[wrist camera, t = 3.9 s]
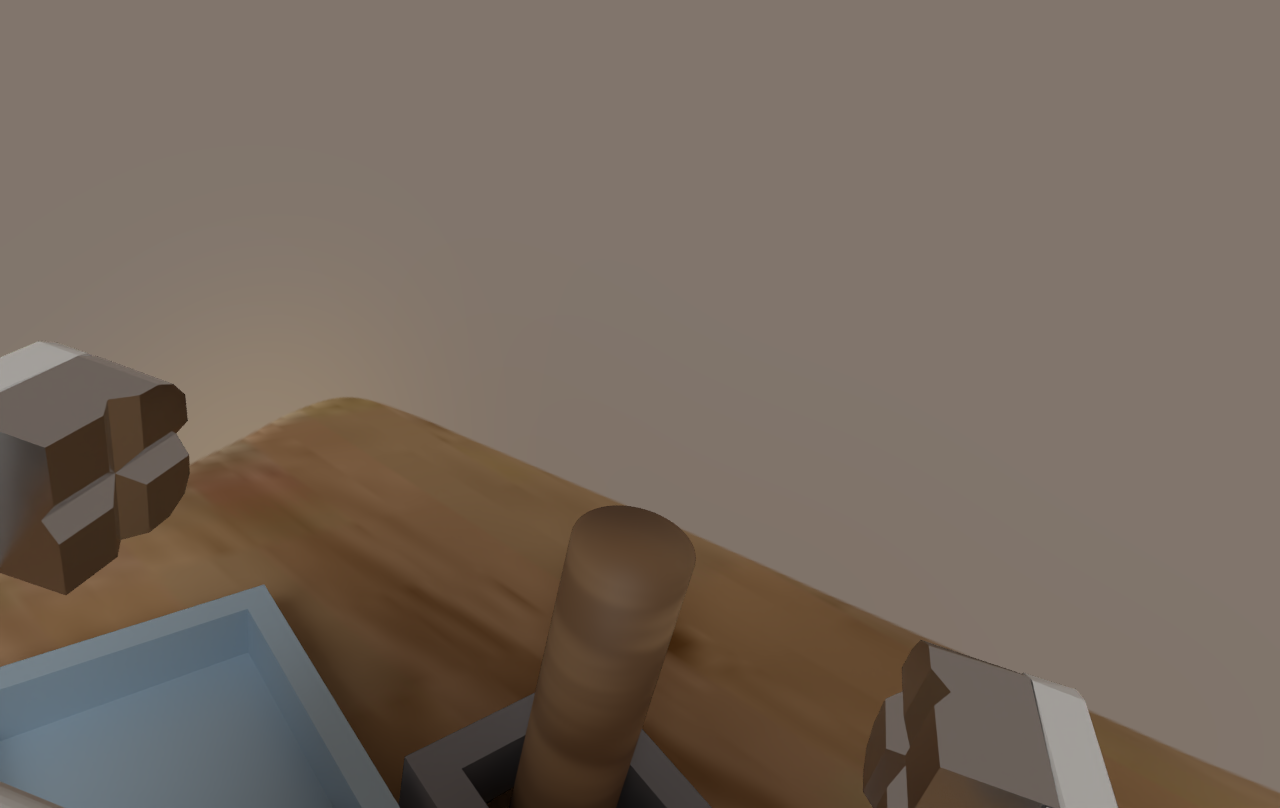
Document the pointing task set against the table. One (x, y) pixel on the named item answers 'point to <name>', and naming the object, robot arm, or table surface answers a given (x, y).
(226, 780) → the tray
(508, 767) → the socket block
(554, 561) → the table surface
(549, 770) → the dowel
